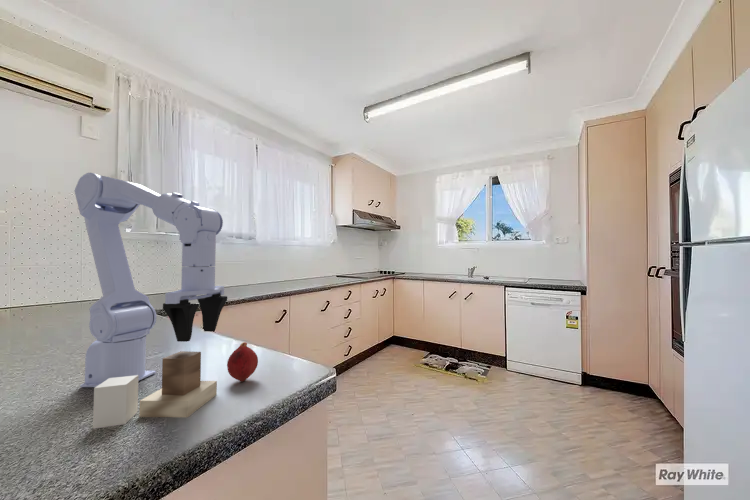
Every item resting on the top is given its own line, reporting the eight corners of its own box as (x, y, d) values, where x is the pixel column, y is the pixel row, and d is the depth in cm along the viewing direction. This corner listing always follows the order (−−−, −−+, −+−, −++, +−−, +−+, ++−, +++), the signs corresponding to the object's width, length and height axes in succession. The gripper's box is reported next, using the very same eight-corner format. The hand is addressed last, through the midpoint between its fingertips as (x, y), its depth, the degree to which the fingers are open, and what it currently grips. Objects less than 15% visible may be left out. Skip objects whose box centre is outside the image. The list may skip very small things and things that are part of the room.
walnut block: (161, 394, 49) (162, 358, 49) (180, 384, 53) (180, 351, 53) (183, 395, 49) (184, 359, 49) (200, 385, 53) (200, 351, 53)
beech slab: (139, 419, 47) (139, 400, 47) (174, 396, 55) (175, 380, 55) (187, 420, 47) (188, 401, 47) (216, 397, 55) (216, 381, 55)
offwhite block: (92, 428, 44) (94, 388, 44) (108, 415, 47) (109, 378, 48) (125, 424, 45) (126, 384, 45) (137, 411, 49) (138, 375, 49)
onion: (245, 388, 57) (246, 347, 57) (220, 386, 58) (220, 345, 59) (263, 377, 63) (263, 339, 63) (239, 375, 64) (239, 338, 64)
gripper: (193, 267, 50) (191, 346, 50) (237, 266, 65) (236, 327, 64) (154, 267, 51) (152, 346, 50) (207, 266, 65) (206, 327, 65)
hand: (197, 335), depth 57 cm, fingers open, 7 cm apart
